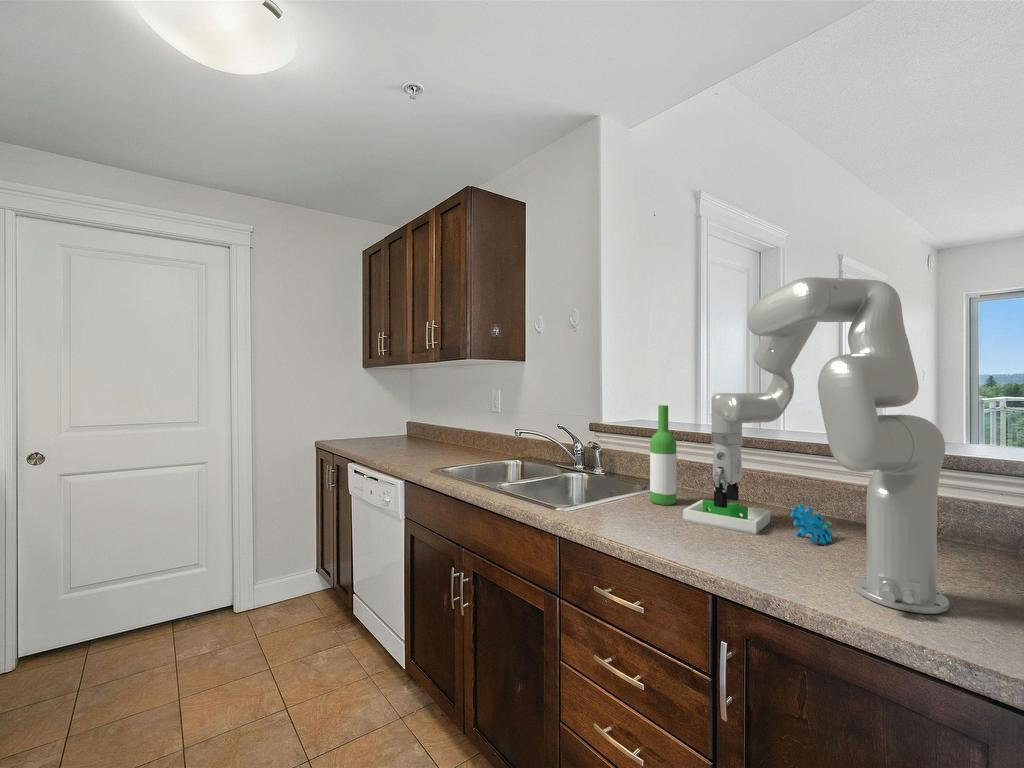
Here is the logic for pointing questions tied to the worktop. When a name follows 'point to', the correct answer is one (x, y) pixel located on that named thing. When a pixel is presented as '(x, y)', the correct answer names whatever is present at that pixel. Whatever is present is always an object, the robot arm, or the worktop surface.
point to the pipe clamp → (726, 509)
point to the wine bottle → (663, 462)
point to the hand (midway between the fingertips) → (726, 503)
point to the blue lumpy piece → (811, 525)
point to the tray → (728, 519)
